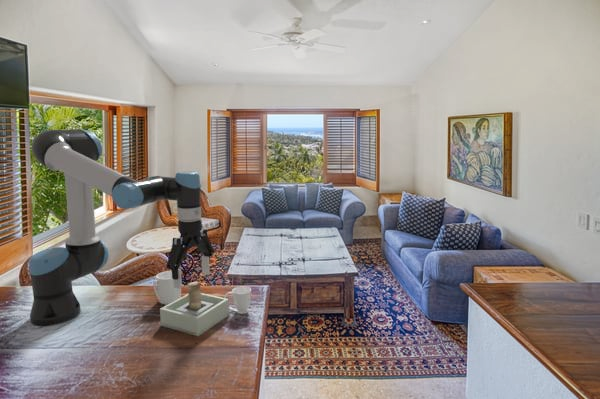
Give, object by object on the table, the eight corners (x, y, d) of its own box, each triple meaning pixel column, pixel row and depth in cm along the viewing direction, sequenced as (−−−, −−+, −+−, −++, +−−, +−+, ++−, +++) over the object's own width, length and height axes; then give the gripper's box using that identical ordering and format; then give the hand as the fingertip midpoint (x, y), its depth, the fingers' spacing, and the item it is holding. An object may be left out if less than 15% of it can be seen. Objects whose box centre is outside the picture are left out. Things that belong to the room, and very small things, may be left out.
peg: (187, 318, 134) (185, 285, 132) (195, 313, 138) (193, 281, 136) (196, 321, 132) (194, 287, 130) (204, 316, 136) (202, 283, 134)
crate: (161, 325, 132) (159, 308, 131) (194, 306, 146) (193, 291, 145) (198, 336, 125) (197, 318, 124) (229, 315, 139) (228, 298, 138)
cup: (250, 315, 138) (249, 294, 136) (222, 315, 139) (221, 293, 137) (254, 306, 145) (253, 286, 143) (227, 306, 145) (226, 285, 144)
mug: (172, 293, 157) (170, 269, 155) (187, 299, 152) (185, 273, 150) (148, 303, 148) (145, 277, 147) (162, 309, 143) (160, 282, 141)
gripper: (170, 229, 116) (173, 296, 120) (222, 213, 138) (224, 270, 142) (151, 226, 120) (155, 292, 124) (206, 210, 141) (208, 267, 145)
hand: (192, 280), depth 133 cm, fingers open, 13 cm apart
